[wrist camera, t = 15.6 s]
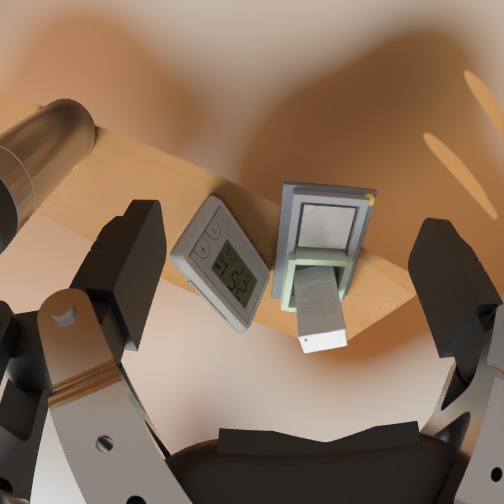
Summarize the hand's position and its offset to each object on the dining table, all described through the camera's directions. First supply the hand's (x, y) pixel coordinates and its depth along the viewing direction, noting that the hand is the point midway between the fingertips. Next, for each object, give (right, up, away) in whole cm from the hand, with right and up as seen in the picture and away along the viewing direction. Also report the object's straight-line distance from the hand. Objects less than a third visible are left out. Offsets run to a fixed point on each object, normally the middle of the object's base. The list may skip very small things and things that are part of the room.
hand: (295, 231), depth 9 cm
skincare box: (+8, -4, +39) cm, 40 cm away
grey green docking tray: (+8, 0, +37) cm, 37 cm away
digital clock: (-4, +1, +37) cm, 37 cm away
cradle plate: (+8, +3, +33) cm, 34 cm away
